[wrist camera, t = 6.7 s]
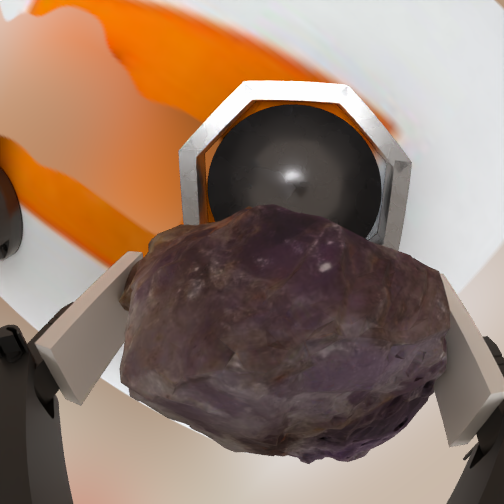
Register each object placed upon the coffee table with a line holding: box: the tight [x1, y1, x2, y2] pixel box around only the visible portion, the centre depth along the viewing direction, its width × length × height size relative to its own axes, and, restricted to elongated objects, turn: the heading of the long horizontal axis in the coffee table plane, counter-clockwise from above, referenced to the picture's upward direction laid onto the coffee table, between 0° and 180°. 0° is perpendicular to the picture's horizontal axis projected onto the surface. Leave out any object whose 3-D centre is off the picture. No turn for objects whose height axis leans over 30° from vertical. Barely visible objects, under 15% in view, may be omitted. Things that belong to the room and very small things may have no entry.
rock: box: [119, 204, 450, 464], centre depth 10 cm, size 12×9×10 cm
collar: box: [179, 81, 412, 251], centre depth 26 cm, size 19×19×2 cm
